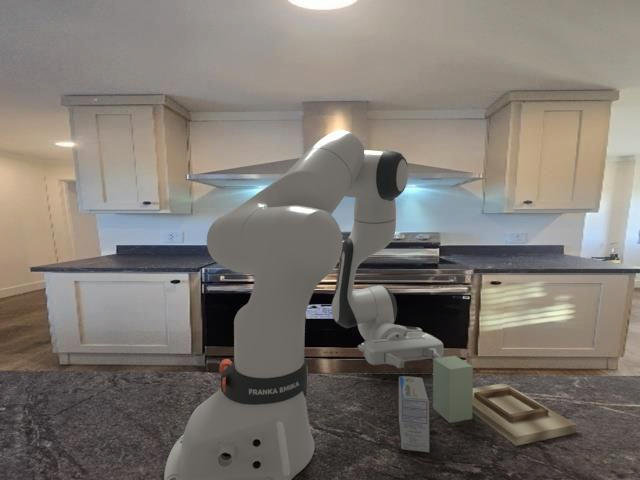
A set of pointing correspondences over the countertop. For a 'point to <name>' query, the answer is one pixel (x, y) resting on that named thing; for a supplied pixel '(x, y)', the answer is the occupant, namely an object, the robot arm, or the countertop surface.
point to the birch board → (518, 415)
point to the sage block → (453, 388)
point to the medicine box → (413, 414)
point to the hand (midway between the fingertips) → (420, 362)
